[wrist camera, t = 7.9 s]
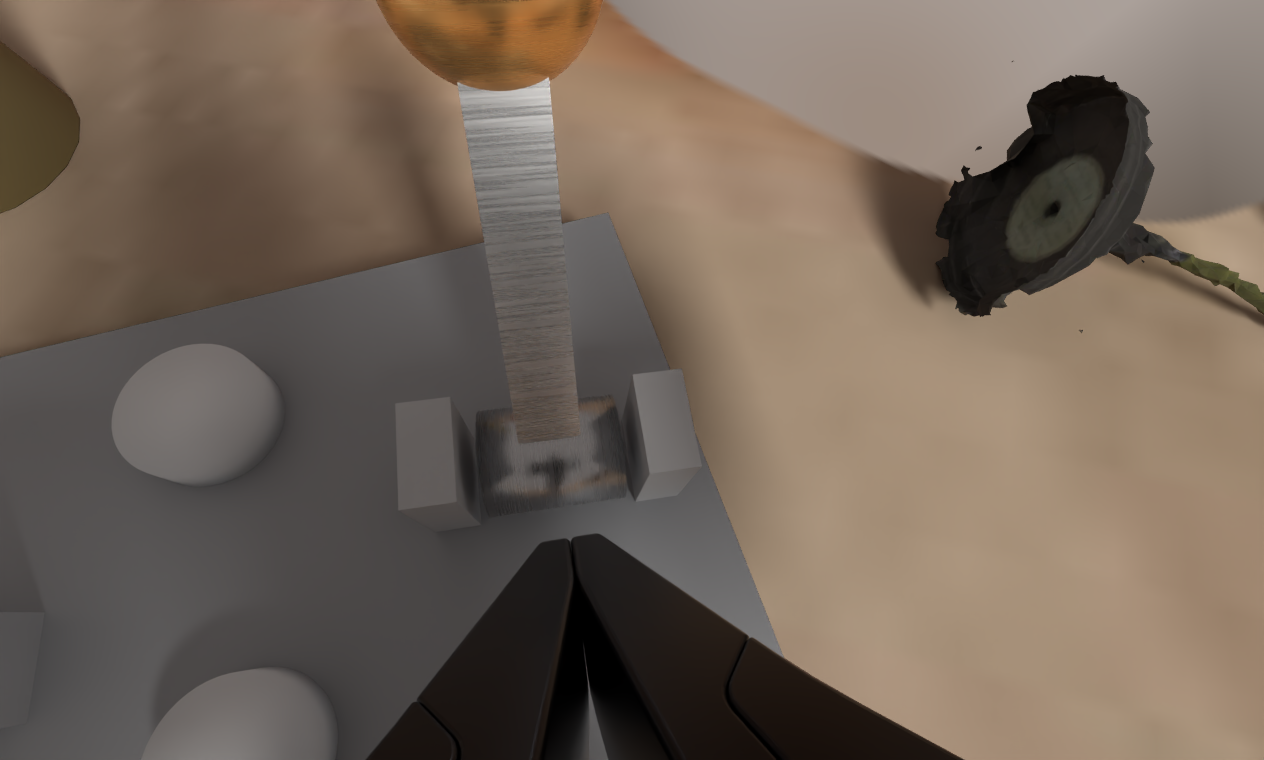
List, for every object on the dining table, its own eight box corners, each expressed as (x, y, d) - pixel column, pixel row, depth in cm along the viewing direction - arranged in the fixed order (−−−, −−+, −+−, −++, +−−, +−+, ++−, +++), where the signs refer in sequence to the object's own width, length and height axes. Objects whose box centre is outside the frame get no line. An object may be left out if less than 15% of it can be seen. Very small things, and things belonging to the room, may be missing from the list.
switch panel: (768, 693, 15) (867, 733, 10) (-268, 1132, 11) (-995, 1579, 6) (604, 261, 19) (614, 133, 14) (-196, 464, 15) (-590, 387, 10)
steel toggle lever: (636, 533, 12) (620, -221, 6) (487, 556, 12) (294, -226, 6) (613, 438, 15) (583, -173, 8) (487, 454, 14) (355, -174, 8)
